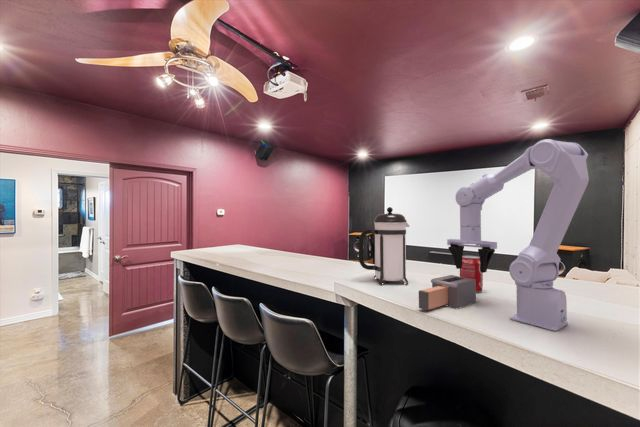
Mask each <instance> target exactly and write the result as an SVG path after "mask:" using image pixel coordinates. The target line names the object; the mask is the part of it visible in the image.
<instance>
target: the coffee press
mask: <svg viewBox="0 0 640 427" xmlns="http://www.w3.org/2000/svg"><path fill="white" fill-rule="evenodd" d="M386 211H387V212H386V213H380V214H377V215H376V216H375V218H374V220H373V223H374V229H366V230H364V231H362V232H361V233H360V235H359V238H358V262H359V264H360V266H361V267H362V268H363V269H365V270H367V271H368V270H369V271H374V272H375V274H374V278H375V277H376V278H378V279H377V280H378V284H379V285H380V284H382V283H384V284H385V282H398V281H399V282H401V283H402V284H403V285H404V283H406V284H407V285H409V280H408V278H407V260H406V259H407V254H406V253H407V250H406V248H407V246H406V245H407V243H406V241H407V240H406V239H407V238H406V236H407V229H406V228H410V225H409V223H408V222H407V219H406V218H405V216H404V215H403V214H401V213H393V208H392V207H387V208H386ZM372 234H373V235H374V265H373V264H372V265H368V264H366V263H365V262H364V261H365V260H364V240H365V237H366V236H367V235H372ZM374 278H373V279H374Z"/></svg>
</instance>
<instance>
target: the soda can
mask: <svg viewBox="0 0 640 427" xmlns="http://www.w3.org/2000/svg"><path fill="white" fill-rule="evenodd" d="M483 274H484V273H482V272H481V271H480V256H479V255H478V256H477V255H462V268H460V269H459V277H465V278H470V279H476V294H478V293H480V292H482V291H483V288H484V287H483V284H484V282H483V281H484V279H483V278H484V277H483V276H484V275H483Z"/></svg>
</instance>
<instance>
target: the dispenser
mask: <svg viewBox="0 0 640 427" xmlns="http://www.w3.org/2000/svg"><path fill="white" fill-rule="evenodd" d="M430 283H431V288H433V287H437V286H441V285H444V286H448V287H449V304H446V305H448V306H447V307H449V306H451V307H450V308H453V307H454V308H453V309H456V308H458V309H461V308H463V307H467V306H470V305H473V304H476V303H477V293H476V279H470V278H465V277H460V275H459V276H458V275H453V274H449V275H445V276H440V277H435V278H431V279H430ZM446 305H445V306H446ZM460 307H461V308H460Z"/></svg>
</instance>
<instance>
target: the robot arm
mask: <svg viewBox="0 0 640 427" xmlns="http://www.w3.org/2000/svg"><path fill="white" fill-rule="evenodd" d="M588 157H589V153H587V151H586V150H585V149H584V148H583V147H582V146H581V145H580V144H579V143H577V142H572V141H571V142H569V141H568V142H567V141H561V140H554V139H551V138H548V139H547V138H545V139H541V140H539V141H537V142H536V143H535V144H533V145H532V146H530V147H528V148H526V149H525V151H524V152H523V153H522V155H520V156H519V157H518V158H516V159H514V160H513V161H512V162H510V163H509V164H508V165H507V166H505V167H503V168H502V169H501V170H500V171H498V172H497V173H492V172H491V173H490V172H489V173H484V174H483V175H482V178H480V179H478V180H477V181H476V182H473V183H470V186H468V187H465V186H462V187H460V188H459V189H458V190H457V191H456V193H455V202H456V204H457V205H458V206H459V231H460V232H459V234H460V235H459V236H460V237H459V239H457V238H455V239H454V238H448V239H446V240H447V241H446V244H447V246H448V250H449V252H450V255H451V256H452V258H453V262H454V264H455V267H456V268H455V269H459V270H460V268H462V256H464V255H463V254H464V248H465V247H467V248H468V247H469V248H478V249H477V252H478V257H480V271H481V272H482V273H483V274H484V273H487V271H488V267H489V263H490V262H491V259H492V257H493V255H494V254H495V251H496V249H498V242H497V241H489V240H488V241H487V240H482V222H481V221H482V213H481V212H482V210H483V205H484V203H485V201H486V200H487V199H489V198H491V197H492V196H494V195H496V194H498V193H499V192H501V191H503V189H504V184H506V183H508V182H510V181H512V180H513V179H515V178H516V179H517V178H518V177H519V176H522V175H524V174H526V173H527V172H529V171H531V170H534V169H535V170H536V169H539V170H540V171H542V172H543V173H545V174H546V175H547V176H548V177H549V179H550V180H551V182H552V183H553V187H552V189H551V192H550V194H549V196H548V199H547V201H546V203H545V206H544V208H543V209H542V210H543V211H542V213H541V216H540V219H539V220H538V222H537V225H536V228H535V231H534V233H533V235H532V238H531V240H530V242H529V244H528V246H526V247H525V248H523V250H521V251H520V252H519V254H518V256H517V257H516V259H515V260H513V261H512V262H511V263H510V265H509V267H508V268H509V270H508V271H509V275H510V277H511V279H512V280H513V281H514V284H515V285H516V287H515V288H516V313H515V314H513V315H511V316H509V319H510V320H512V321H517V322H520V323H525V324H528V325H533V326H535V327H539V328H542V329H546V330H549V331H554V332H557V331H558V330H560V329H562V328H563V327H565V326H567V325H568V324H569V322H568V320H567V318H568V312H567V310H568V308H567V295H566V293H565V291H564V290H561V289H557V288H555V287H553V286H554V281H556V280H557V279H558V277H559V275H560V268H559V266H560V262H561V259H562V258H561V257H560V256H559V255H558V251H559V248H560V247H561V244H562V241H563V240H564V237H565V235H566V232H567V231H568V228H569V226H570V224H571V221H572V220H573V218H574V215H575V213H576V211H577V208H578V207H579V205H580V202H581V200H582V197H583V196H584V193H585V191H586V189H587V187H588V184H589V181H590V177H589V172H588V170H589V169H588V166H587V160H588V159H587V158H588Z"/></svg>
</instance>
